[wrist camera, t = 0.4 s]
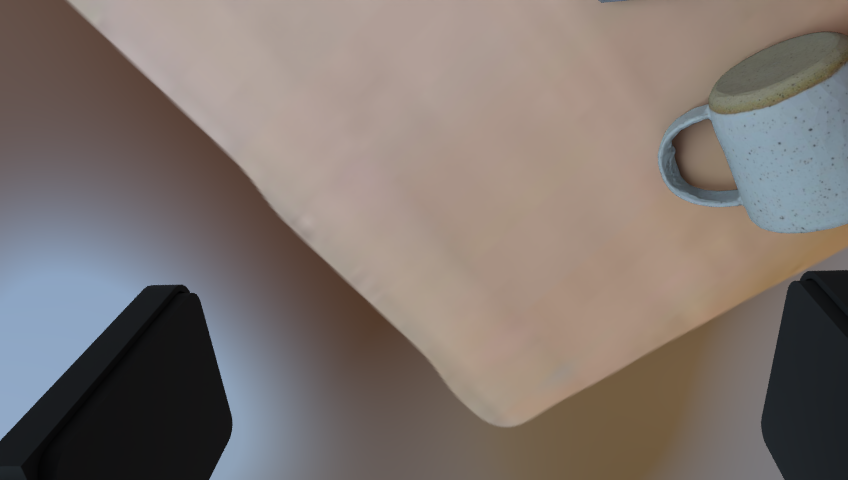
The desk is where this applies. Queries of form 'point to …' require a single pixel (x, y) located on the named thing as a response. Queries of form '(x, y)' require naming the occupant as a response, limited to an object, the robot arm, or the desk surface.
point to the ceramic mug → (778, 136)
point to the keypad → (609, 0)
